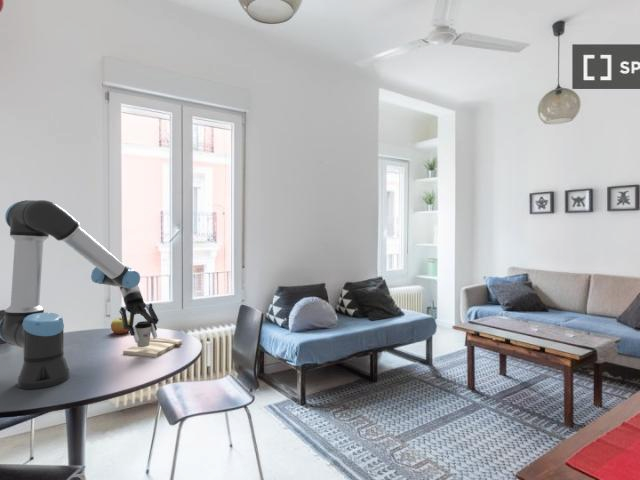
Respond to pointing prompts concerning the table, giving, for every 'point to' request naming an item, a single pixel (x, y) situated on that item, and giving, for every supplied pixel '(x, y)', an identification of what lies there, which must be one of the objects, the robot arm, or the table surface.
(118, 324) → the apple
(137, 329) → the coffee cup
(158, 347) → the subfloor panel
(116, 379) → the table surface
